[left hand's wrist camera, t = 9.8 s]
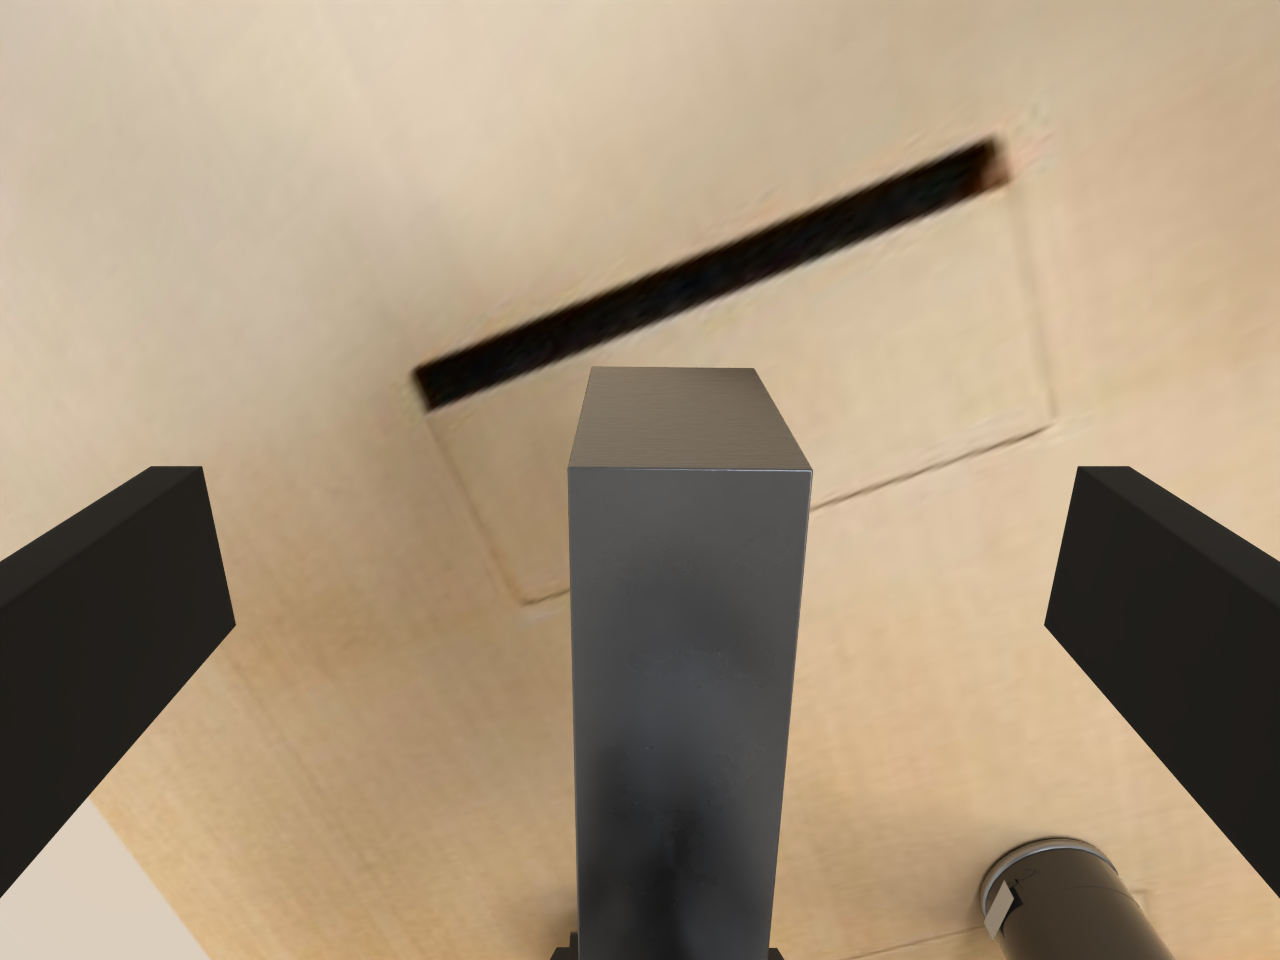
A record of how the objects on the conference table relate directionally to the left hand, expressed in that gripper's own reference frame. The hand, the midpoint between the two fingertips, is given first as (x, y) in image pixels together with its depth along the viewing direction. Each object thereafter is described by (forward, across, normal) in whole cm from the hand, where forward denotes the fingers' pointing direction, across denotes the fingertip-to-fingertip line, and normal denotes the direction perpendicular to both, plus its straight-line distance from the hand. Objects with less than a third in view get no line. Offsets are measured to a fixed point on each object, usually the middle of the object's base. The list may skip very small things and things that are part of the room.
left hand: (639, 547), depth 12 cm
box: (+17, +1, -14) cm, 22 cm away
